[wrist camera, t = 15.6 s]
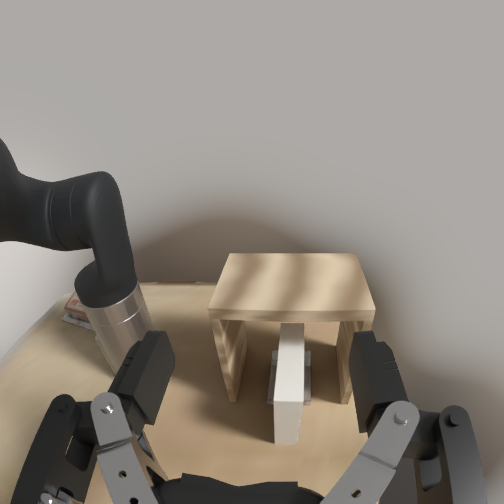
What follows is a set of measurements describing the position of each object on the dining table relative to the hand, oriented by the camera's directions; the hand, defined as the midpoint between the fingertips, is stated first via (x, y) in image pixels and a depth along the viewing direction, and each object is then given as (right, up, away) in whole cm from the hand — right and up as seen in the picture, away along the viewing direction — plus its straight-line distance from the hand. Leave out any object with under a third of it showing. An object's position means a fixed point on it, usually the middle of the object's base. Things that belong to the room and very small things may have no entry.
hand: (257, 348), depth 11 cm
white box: (+5, -19, +25) cm, 31 cm away
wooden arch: (+6, -15, +31) cm, 35 cm away
